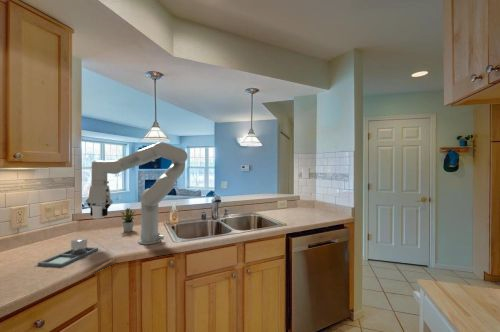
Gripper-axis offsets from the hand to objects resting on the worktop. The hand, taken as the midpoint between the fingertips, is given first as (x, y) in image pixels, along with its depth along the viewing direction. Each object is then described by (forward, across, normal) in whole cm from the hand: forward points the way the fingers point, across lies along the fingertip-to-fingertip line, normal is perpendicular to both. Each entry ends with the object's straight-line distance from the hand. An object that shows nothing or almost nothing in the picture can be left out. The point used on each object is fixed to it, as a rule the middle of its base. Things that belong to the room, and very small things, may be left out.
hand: (98, 215), depth 139 cm
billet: (+16, 0, +14) cm, 21 cm away
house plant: (+18, +6, -35) cm, 40 cm away
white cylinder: (+2, 0, 0) cm, 2 cm away
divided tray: (+18, 0, +19) cm, 26 cm away
